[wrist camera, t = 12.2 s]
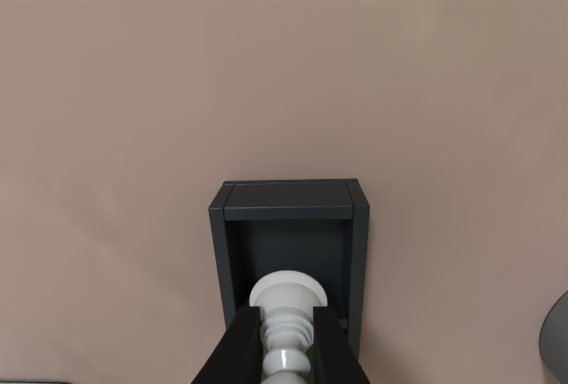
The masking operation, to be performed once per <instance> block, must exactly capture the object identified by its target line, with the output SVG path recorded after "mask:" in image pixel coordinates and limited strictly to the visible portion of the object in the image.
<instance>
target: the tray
mask: <svg viewBox="0 0 568 384" xmlns="http://www.w3.org/2000/svg"><path fill="white" fill-rule="evenodd" d="M208 210H209V217H210V224H211V231H212V237H213V244H214V251H215V258H216V264H217V271H218V278H219V285H220V291H221V298H222V305H223V312H224V318H225V325H226V330H227V329H228V327H229V325H230V323H231V322H232V320H233V318H234V316H235V314H236V312H237V310H238V309H239V308H240V307H241V306H250V294H251V291H252V289H253V287H254V286H255V284H256V283H257V282H258V281H259V280H260V279H261V278H263V277H264V276H266V275H268V274H270V273H273V272H277V271H286V270H289V271H297V272H301V273H304V274H306V275H309V276H311V277H312V278H313V279H315V280H316V281H317V282H318V283H319V284H320V285H321V286H322V288H323V289H324V291H325V294H326V297H327V306H332V307H333V308H334V309H335V311H336V314H337V317H338V320H339V322H340V325H341V327H342V330H343V332H344V334H345V336H346V338H347V341H348V343H349V345H350V347H351V349H352V351H353V353H354V354H355V356H356V358H357V360H359V346H360V332H361V319H362V305H363V292H364V278H365V264H366V251H367V237H368V224H369V210H370V205H369V203H368V201H367V199H366V197H365V195H364V193H363V191H362V189H361V187H360V185H359V183H358V180H357V179H318V180H270V181H225V182H224V183H223V185H222V187H221V188H220V190H219V191H218V193H217V195H216V196H215V198H214V200H213V201H212V203H211V204H210V206H209V208H208Z"/></svg>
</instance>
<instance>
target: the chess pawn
mask: <svg viewBox="0 0 568 384" xmlns="http://www.w3.org/2000/svg"><path fill="white" fill-rule="evenodd" d="M250 306H260V316H261V326H260V336H261V342H262V343H263V344H264V346H265V347H266V348H267V349H268V351H269V352H268V353H267V354H266V356H265V357H264V360H263V370H264V373H265V374H266V375H267V378H266V379H265V380H264V381H262V383H261V384H308V383H307V382H306V381H305V380H304V379H305V378H306V377H307V376H308V375H309V373H310V370H311V363H310V360H309V358H308V356H307V355H306V354H305V352H306V351H307V349H308V348H310V347H311V345H312V344H313V306H327V297H326V294H325V291H324V289H323V288H322V286H321V285H320V284H319V283H318V282H317V281H316V280H315V279H313V278H312V277H311V276H309V275H306V274H304V273H301V272H297V271H289V270H286V271H277V272H273V273H270V274H268V275H266V276H264V277H263V278H261V279H260V280H259V281H258V282H257V283H256V284H255V286H254V287H253V289H252V291H251V294H250Z"/></svg>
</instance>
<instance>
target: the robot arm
mask: <svg viewBox="0 0 568 384" xmlns="http://www.w3.org/2000/svg"><path fill="white" fill-rule="evenodd" d="M260 326H261V316H260V306H241V307H240V308H239V309H238V310H237V312H236V314H235V316H234V318H233V320H232V322H231V323H230V325H229V327H228V329H227V330H226V332H225V334H224V335H223V337H222V339H221V340H220V342H219V343H218V345H217V346H216V348H215V349H214V351H213V353H212V354H211V356H210V357H209V359H208V360H207V362H206V363H205V365H204V366H203V367H202V369H201V370H200V372H199V373H198V374H197V376H196V377H195V378H194V380H193V381H192V383H191V384H261V377H262V366H263V353H264V350H263V343H262V342H261V336H260ZM313 360H314V384H371V383H370V382H369V380H368V378H367V376H366V375H365V373H364V371H363V369H362V368H361V366H360V364H359V362H358V360H357V358H356V356H355V354H354V353H353V351H352V349H351V347H350V345H349V343H348V341H347V338H346V336H345V334H344V332H343V330H342V327H341V325H340V322H339V320H338V317H337V314H336V311H335V309H334V308H333V307H332V306H313ZM0 384H60V383H0Z"/></svg>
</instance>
